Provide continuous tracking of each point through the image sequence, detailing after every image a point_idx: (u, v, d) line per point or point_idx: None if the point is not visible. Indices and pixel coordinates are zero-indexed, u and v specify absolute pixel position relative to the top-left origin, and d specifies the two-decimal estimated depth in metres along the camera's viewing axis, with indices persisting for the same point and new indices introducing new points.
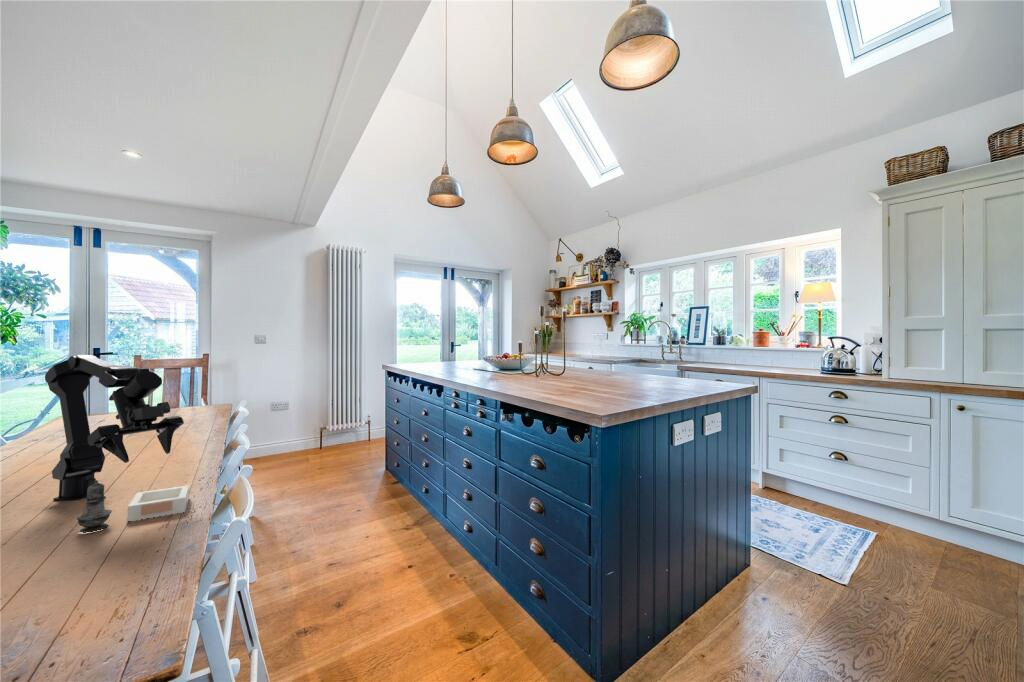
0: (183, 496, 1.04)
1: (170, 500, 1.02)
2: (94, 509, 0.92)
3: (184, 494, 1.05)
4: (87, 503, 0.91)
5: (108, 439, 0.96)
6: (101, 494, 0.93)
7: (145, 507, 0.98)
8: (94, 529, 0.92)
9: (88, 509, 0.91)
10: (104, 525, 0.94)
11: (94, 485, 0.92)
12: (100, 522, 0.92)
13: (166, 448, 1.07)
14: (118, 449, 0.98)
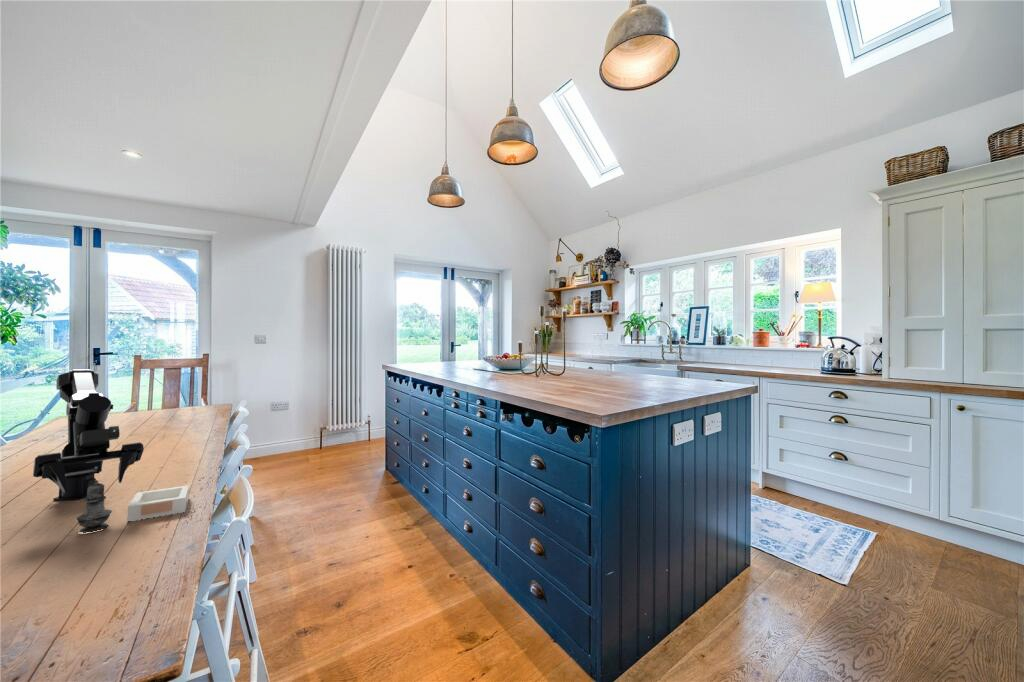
0: (183, 496, 1.04)
1: (170, 500, 1.02)
2: (94, 509, 0.92)
3: (184, 494, 1.05)
4: (87, 503, 0.91)
5: (47, 468, 0.91)
6: (101, 494, 0.93)
7: (145, 507, 0.98)
8: (94, 529, 0.92)
9: (88, 509, 0.91)
10: (104, 525, 0.94)
11: (94, 485, 0.92)
12: (100, 522, 0.92)
13: (119, 476, 0.99)
14: (57, 478, 0.91)
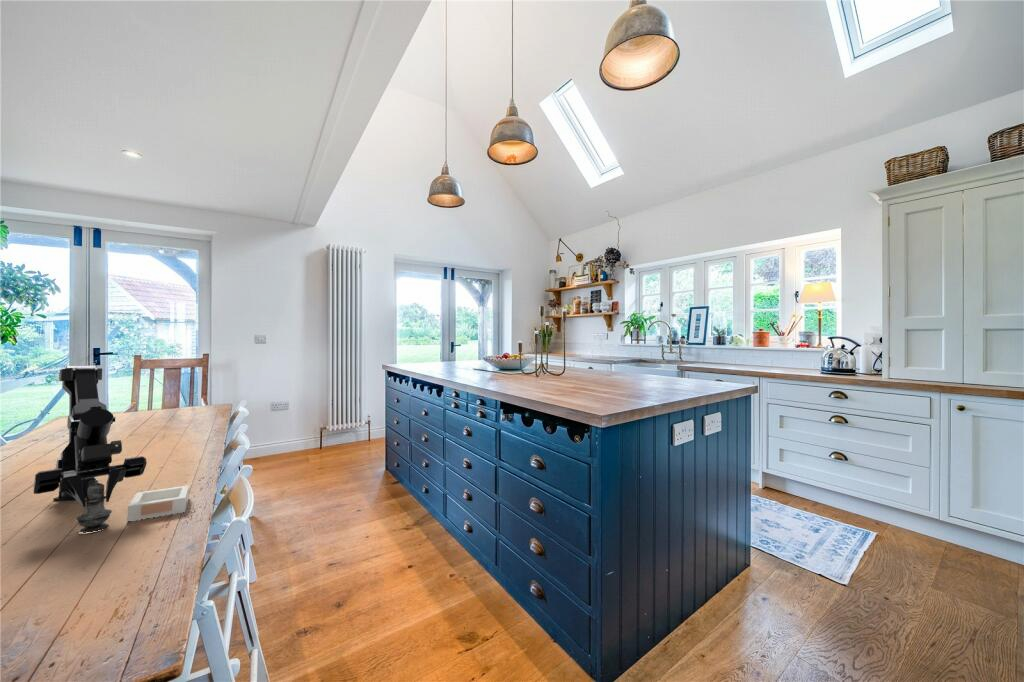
0: (183, 496, 1.04)
1: (170, 500, 1.02)
2: (94, 509, 0.92)
3: (184, 494, 1.05)
4: (87, 503, 0.91)
5: (65, 482, 0.90)
6: (101, 494, 0.93)
7: (145, 507, 0.98)
8: (94, 529, 0.92)
9: (88, 508, 0.91)
10: (104, 525, 0.94)
11: (94, 485, 0.92)
12: (100, 522, 0.92)
13: (106, 495, 0.94)
14: (76, 492, 0.91)
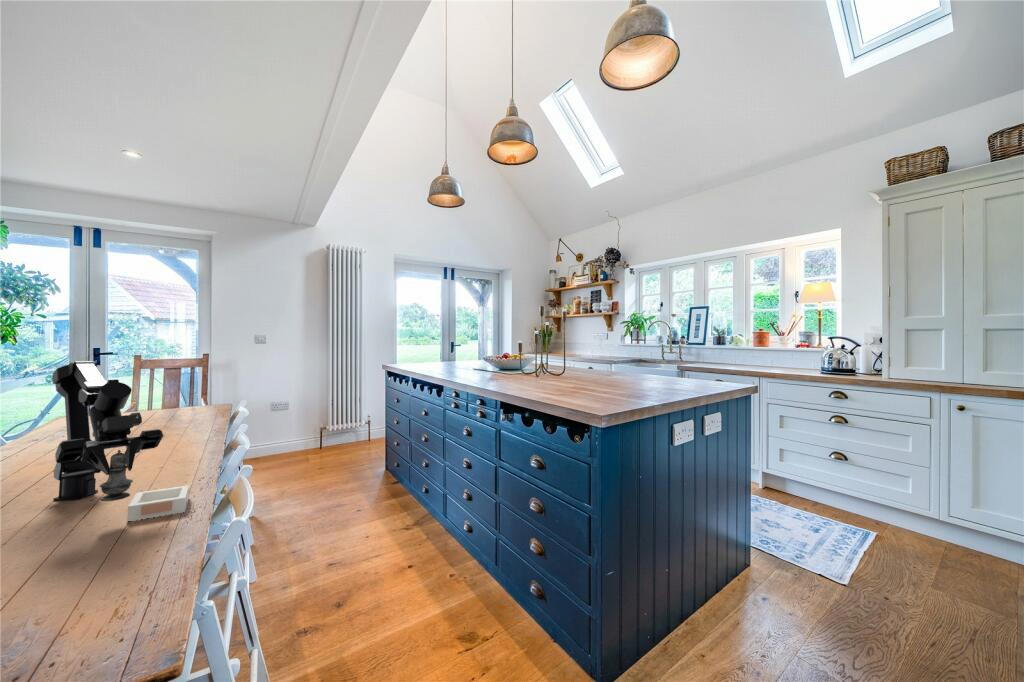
0: (183, 496, 1.04)
1: (170, 500, 1.02)
2: (117, 477, 0.95)
3: (184, 494, 1.05)
4: (111, 471, 0.95)
5: (88, 451, 0.93)
6: (124, 463, 0.96)
7: (145, 507, 0.98)
8: (117, 496, 0.95)
9: (112, 477, 0.95)
10: (125, 493, 0.97)
11: (117, 454, 0.96)
12: (123, 490, 0.96)
13: (128, 464, 0.98)
14: (99, 461, 0.94)
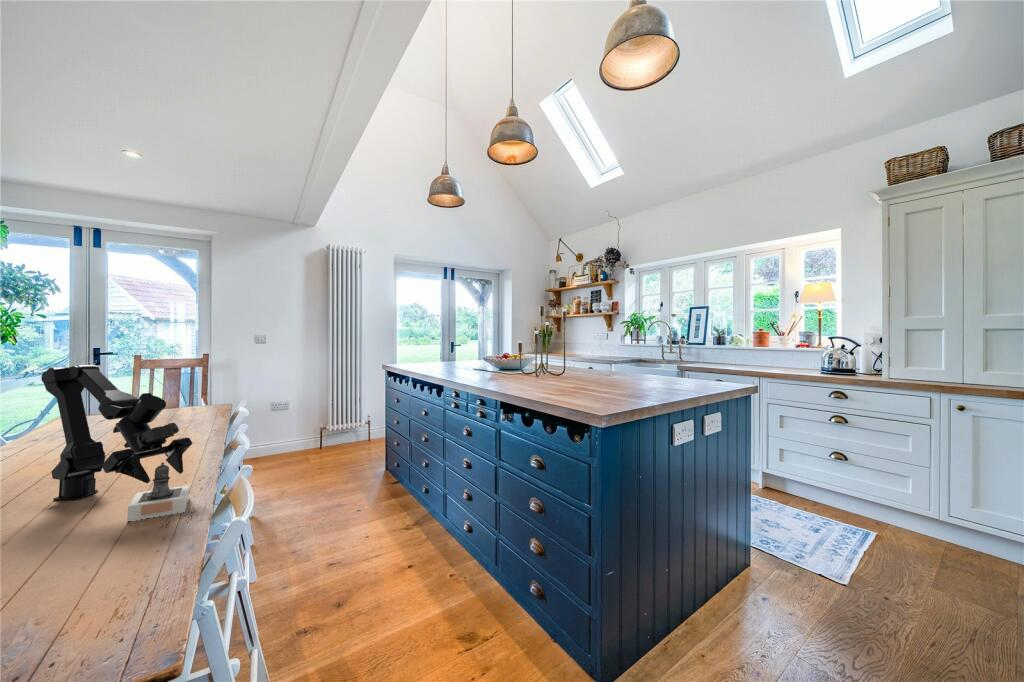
0: (183, 496, 1.04)
1: (170, 500, 1.02)
2: (163, 487, 1.04)
3: (184, 494, 1.05)
4: (157, 482, 1.03)
5: (126, 462, 0.99)
6: (168, 474, 1.05)
7: (145, 507, 0.98)
8: None
9: (158, 487, 1.03)
10: None
11: (162, 466, 1.04)
12: None
13: (178, 468, 1.08)
14: (137, 471, 1.00)
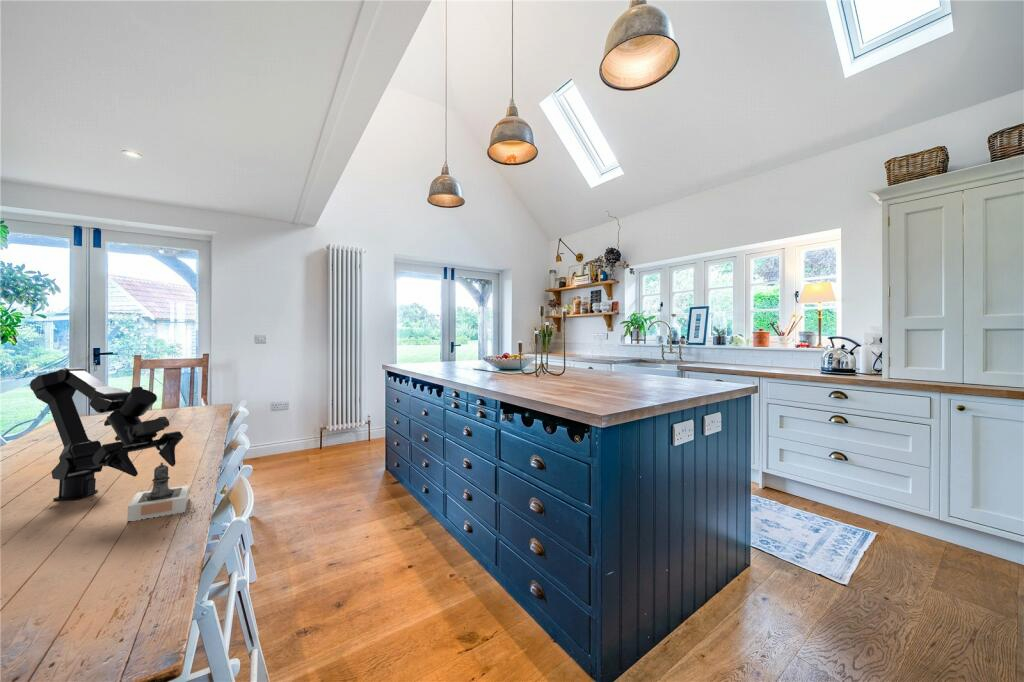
0: (183, 496, 1.04)
1: (170, 500, 1.02)
2: (163, 487, 1.04)
3: (184, 494, 1.05)
4: (156, 482, 1.03)
5: (114, 455, 0.99)
6: (167, 474, 1.05)
7: (145, 507, 0.98)
8: None
9: (158, 487, 1.03)
10: None
11: (161, 466, 1.04)
12: None
13: (171, 461, 1.10)
14: (125, 464, 1.00)
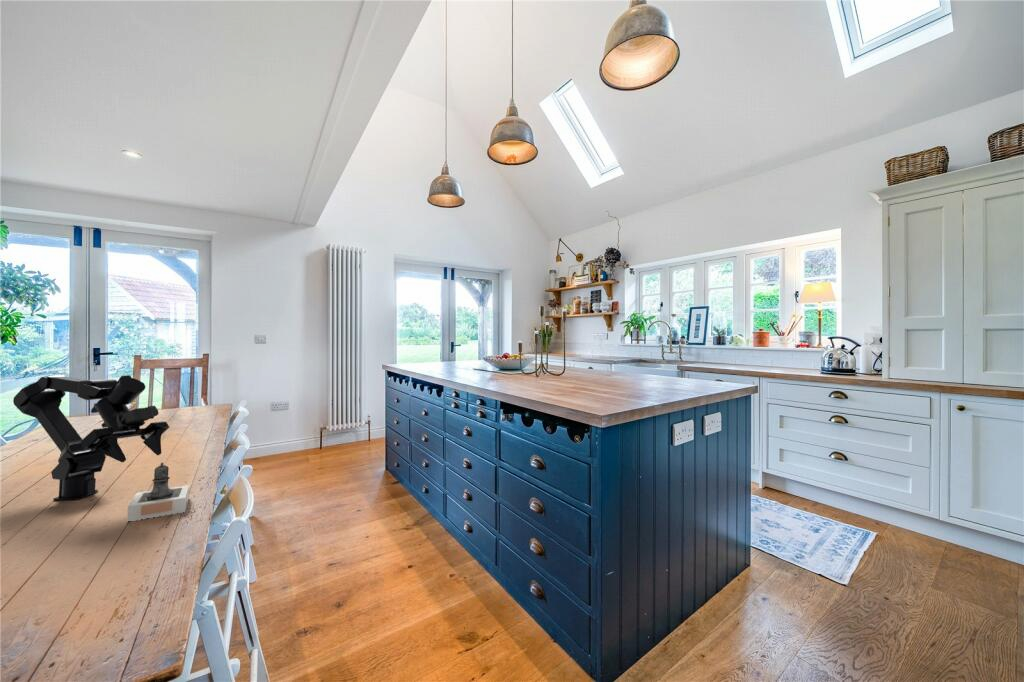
0: (183, 496, 1.04)
1: (170, 500, 1.02)
2: (163, 487, 1.04)
3: (184, 494, 1.05)
4: (157, 482, 1.03)
5: (104, 440, 1.01)
6: (167, 474, 1.05)
7: (145, 507, 0.98)
8: None
9: (158, 487, 1.03)
10: None
11: (162, 466, 1.04)
12: None
13: (157, 450, 1.12)
14: (114, 450, 1.02)
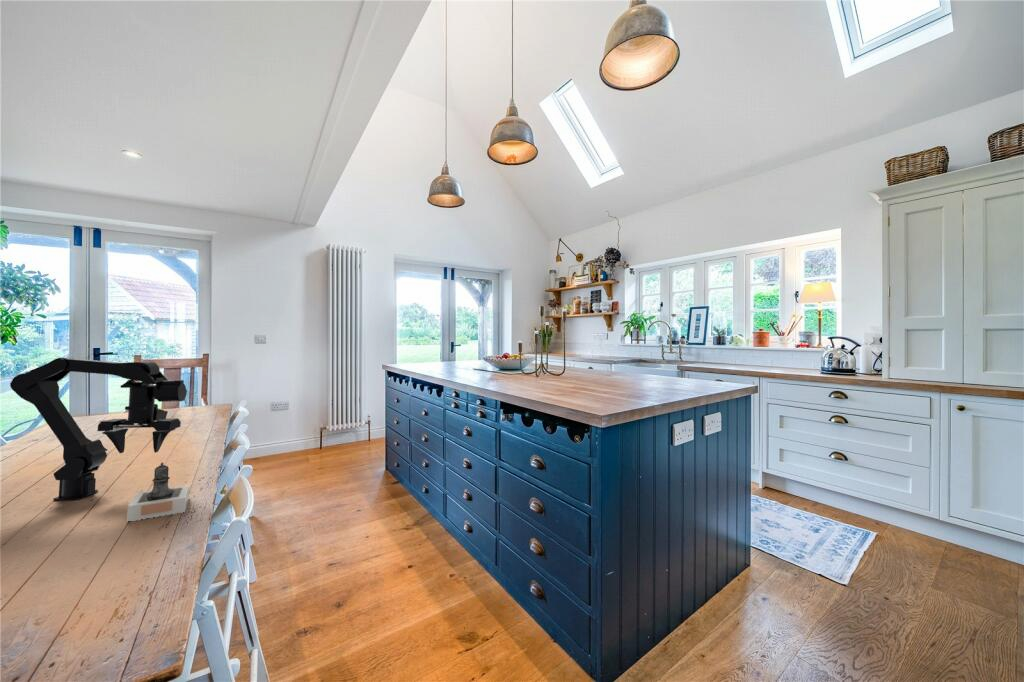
0: (183, 496, 1.04)
1: (170, 500, 1.02)
2: (163, 487, 1.04)
3: (184, 494, 1.05)
4: (157, 482, 1.03)
5: None
6: (167, 474, 1.05)
7: (145, 507, 0.98)
8: None
9: (158, 487, 1.03)
10: None
11: (162, 466, 1.04)
12: None
13: (123, 448, 1.16)
14: (163, 440, 1.19)
